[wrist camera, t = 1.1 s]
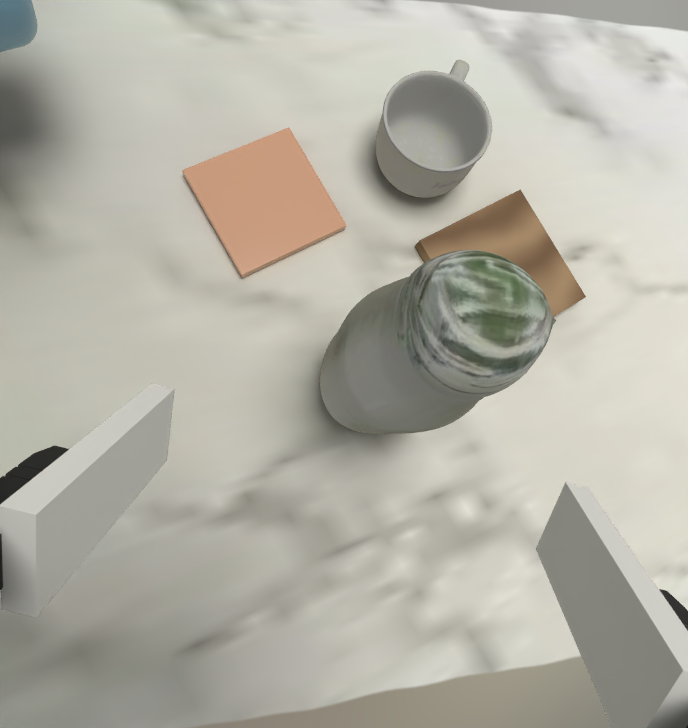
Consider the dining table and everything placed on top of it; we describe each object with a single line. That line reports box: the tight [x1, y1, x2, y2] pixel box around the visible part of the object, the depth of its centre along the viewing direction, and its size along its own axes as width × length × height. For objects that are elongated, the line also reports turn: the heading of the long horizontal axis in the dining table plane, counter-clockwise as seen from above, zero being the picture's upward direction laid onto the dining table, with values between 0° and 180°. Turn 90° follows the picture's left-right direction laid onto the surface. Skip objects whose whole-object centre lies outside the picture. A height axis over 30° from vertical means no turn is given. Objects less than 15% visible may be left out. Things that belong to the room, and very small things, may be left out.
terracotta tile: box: [182, 128, 346, 278], centre depth 49 cm, size 12×12×1 cm
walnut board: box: [415, 190, 586, 317], centre depth 53 cm, size 14×14×2 cm
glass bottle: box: [320, 250, 556, 434], centre depth 35 cm, size 10×10×28 cm
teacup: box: [376, 60, 492, 198], centre depth 50 cm, size 14×11×8 cm
